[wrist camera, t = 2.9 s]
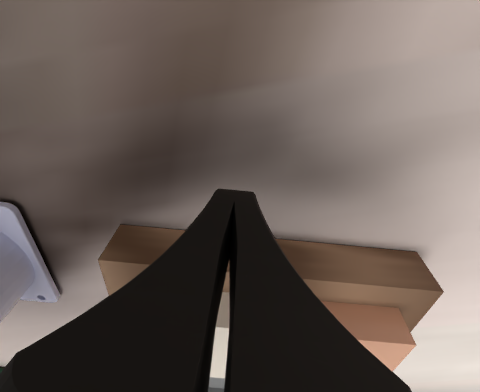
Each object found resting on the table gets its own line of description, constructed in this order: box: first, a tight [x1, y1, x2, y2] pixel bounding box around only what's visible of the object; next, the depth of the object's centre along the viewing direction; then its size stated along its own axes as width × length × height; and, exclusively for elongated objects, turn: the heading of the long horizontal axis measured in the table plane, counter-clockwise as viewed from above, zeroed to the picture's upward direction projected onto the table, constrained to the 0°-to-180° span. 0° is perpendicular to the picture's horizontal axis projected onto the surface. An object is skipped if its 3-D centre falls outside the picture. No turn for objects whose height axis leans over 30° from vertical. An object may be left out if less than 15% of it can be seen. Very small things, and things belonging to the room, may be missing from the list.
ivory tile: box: [210, 292, 229, 378], centre depth 14 cm, size 5×5×2 cm
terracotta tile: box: [321, 301, 416, 372], centre depth 14 cm, size 5×5×2 cm
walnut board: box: [98, 224, 444, 332], centre depth 16 cm, size 16×10×2 cm, turn 85°
